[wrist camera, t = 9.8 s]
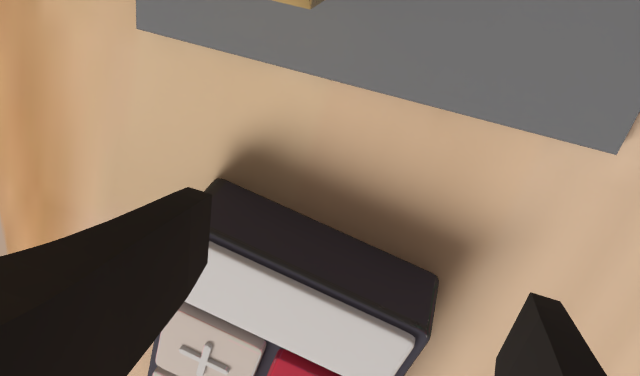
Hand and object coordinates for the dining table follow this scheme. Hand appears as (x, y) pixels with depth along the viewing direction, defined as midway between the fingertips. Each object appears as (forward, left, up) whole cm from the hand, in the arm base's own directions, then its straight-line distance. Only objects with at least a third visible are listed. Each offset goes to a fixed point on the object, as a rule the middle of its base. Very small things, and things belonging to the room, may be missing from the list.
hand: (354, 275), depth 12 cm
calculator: (+3, +13, -10) cm, 17 cm away
